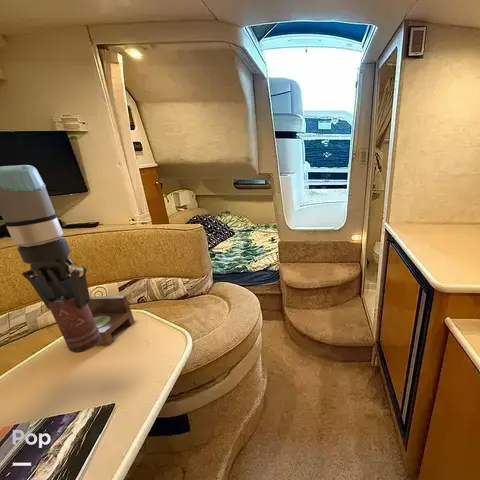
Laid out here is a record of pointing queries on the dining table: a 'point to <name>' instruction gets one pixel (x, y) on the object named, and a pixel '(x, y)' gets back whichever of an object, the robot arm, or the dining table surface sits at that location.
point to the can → (75, 324)
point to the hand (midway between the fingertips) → (80, 331)
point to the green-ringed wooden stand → (110, 315)
